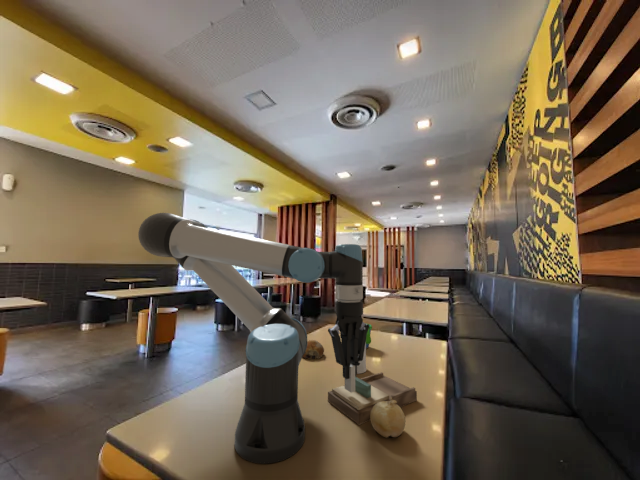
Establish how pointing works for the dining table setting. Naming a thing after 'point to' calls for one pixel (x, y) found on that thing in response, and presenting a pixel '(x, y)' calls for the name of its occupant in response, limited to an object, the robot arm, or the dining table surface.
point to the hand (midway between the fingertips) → (350, 389)
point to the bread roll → (313, 350)
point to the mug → (362, 363)
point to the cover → (361, 394)
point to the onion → (388, 418)
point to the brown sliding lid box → (385, 385)
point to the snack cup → (368, 336)
